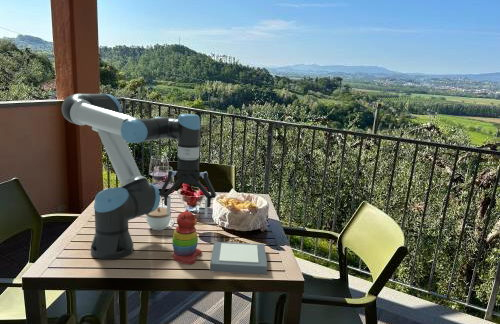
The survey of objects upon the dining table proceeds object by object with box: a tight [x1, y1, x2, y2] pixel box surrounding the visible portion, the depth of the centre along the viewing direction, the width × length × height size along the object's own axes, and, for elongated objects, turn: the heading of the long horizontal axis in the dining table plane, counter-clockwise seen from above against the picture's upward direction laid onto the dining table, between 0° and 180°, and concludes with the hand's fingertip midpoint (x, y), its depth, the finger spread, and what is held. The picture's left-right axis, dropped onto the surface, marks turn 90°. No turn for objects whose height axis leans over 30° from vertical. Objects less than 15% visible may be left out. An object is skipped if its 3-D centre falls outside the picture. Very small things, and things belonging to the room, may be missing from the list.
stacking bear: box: [171, 209, 203, 265], centre depth 137 cm, size 11×10×18 cm
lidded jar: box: [145, 206, 172, 231], centre depth 163 cm, size 11×11×9 cm
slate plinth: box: [209, 241, 268, 275], centre depth 138 cm, size 20×18×3 cm
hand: (187, 214), depth 135 cm, fingers open, 13 cm apart
